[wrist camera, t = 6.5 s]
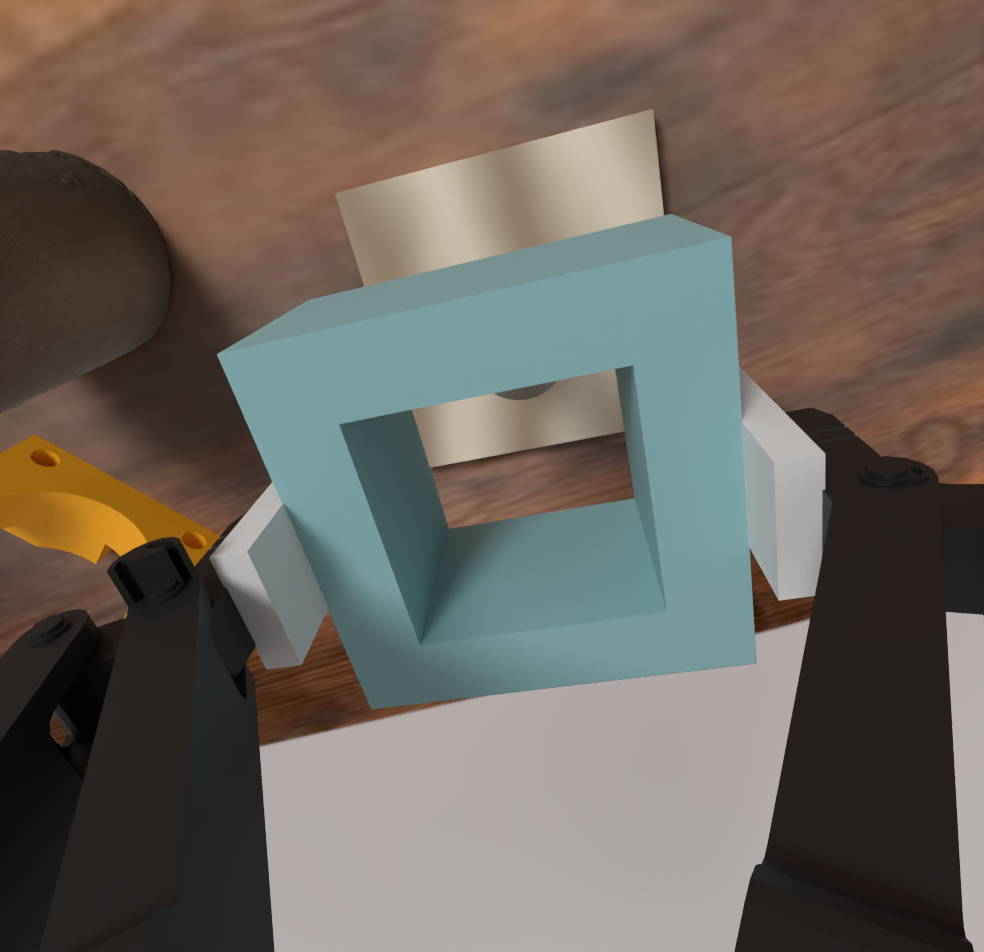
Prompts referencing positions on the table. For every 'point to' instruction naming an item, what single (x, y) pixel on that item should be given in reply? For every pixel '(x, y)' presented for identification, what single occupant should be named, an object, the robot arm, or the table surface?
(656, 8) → the table surface
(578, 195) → the post block
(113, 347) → the pillar candle
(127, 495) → the pipe clamp
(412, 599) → the collar
